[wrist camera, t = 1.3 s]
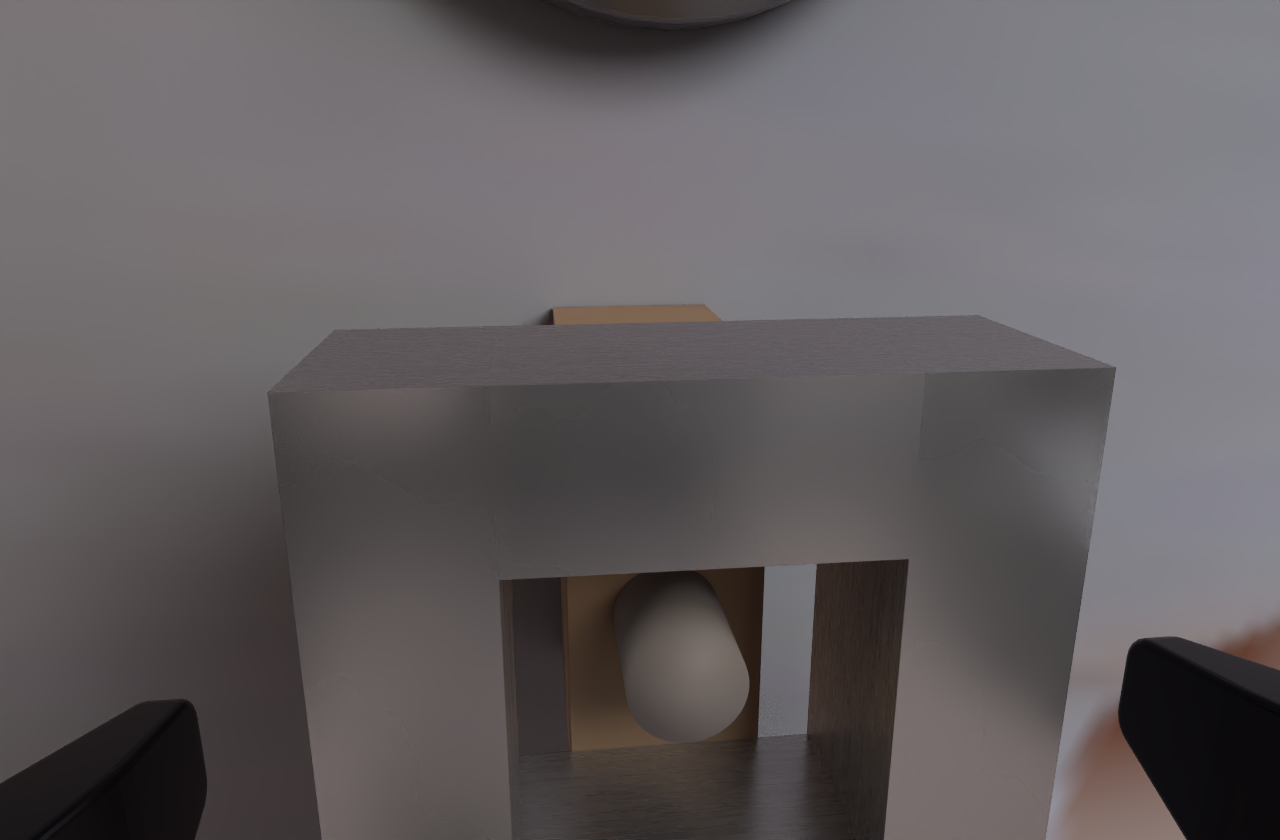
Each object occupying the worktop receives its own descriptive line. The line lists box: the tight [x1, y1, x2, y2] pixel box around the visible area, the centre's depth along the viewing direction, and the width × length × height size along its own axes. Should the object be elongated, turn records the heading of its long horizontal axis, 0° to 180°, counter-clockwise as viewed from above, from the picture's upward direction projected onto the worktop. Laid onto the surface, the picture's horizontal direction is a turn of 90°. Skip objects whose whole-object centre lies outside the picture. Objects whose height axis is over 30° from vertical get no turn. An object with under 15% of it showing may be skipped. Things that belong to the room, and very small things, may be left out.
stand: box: [553, 305, 765, 751], centre depth 11 cm, size 6×2×6 cm, turn 0°
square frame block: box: [267, 315, 1116, 840], centre depth 9 cm, size 7×7×2 cm
